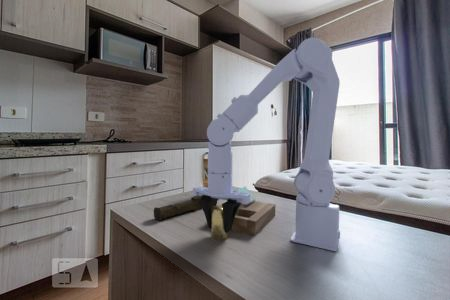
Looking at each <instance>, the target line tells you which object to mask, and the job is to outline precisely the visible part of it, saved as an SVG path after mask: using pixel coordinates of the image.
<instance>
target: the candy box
mask: <svg viewBox="0 0 450 300" xmlns="http://www.w3.org/2000/svg"><path fill="white" fill-rule="evenodd" d="M202 187H208V157H204V158H202Z"/></svg>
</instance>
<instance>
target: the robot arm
mask: <svg viewBox="0 0 450 300" xmlns="http://www.w3.org/2000/svg"><path fill="white" fill-rule="evenodd" d="M293 79H294V80H295V81H298V82H299V83H301V84H304V86H306V87H307V88H309V89H310V91H312V99H311V105H310V113H309V118H308V119H309V120H308V126H307V128H308V129H307V136H306V143H305V151H304V157H303V159H302V161H301V162H300V164H299V170H298V173H296V175H295V177H294V179H293V185H294V188H295V190H296V191H297V192H298V193H297V195H296V197H295V228H294V229H295V231H294V232H293V234H292V236H291V237H290V242H293V243H298V244H301V245H306V246H310V247H316V248H320V249H323V250H329V251H332V252H337V251H338V244H339V240H340V238H341V230H340V205H339V204H335V203H331V201H333V199H334V197H335V194H336V186H335V184H334V177H333V175H334V171H333V169H332V167H331V164H330V153H331V146H332V139H333V133H334V126H335V120H336V119H335V118H336V112H337V106H338V105H337V104H338V98H339V93H340V91H339V90H340V78H339V75H338V72H337V70H336V66H335V64H334V61H333V49H332V48H331V47H330V46H329V45H328V44H327V43H326V42H325V41H324V40H323V39H320V38H319V37H309V38H306V39H304V40H303V41H302V42H300V44H299V46H298V47H297V48H293V49H292V50H291V51H290V52H289V53H287V54H286V56H284V57H283V58H282V59H281V60H280V61H278V62H277V64H275V65H274V67H273V68H272V69H271V70H270V71H269V73H267V75H265V76H264V77H263V79H262V80H261V81H260V82H259V83H258V84H257V85H256V86H255V87H254V88H253V89H252V91H251V92H250V93H248V94H240V95H238V97H236V96H234V97H232V99H231V103H230V105H229V106H228V107H227V108H226V109H224V111H223V112H222V113H218V114H217V116H216V117H217V118H216V119H212V120H211V122H210V124H209V125H208V127H207V129H206V137H207V139H208V141H209V142H208V145H207V148H208V152H207V158H208V187H203V186H195V187H192V197H193V196H202V198H201V199H200V200H199V204H200V206H201V208H202V209H201V210H202V211H203V214H204V218H205V220H206V223H207V228H208V229H210V230H211V208H212V207H213V206H218V205H217V204H218V200H223V201H225V202H223V203H221V204H222V208H223V212H224V229H225V233H228V234H229V233H230V232H231V231H233V230H232V225H233V221H234V218H235V215H236V213H237V210H238V208H239V207H240V205H241V203H242V204H248V203H250V194H251V193H250V194H248V193H243V192H239V191H236V190H235V189H233V151H232V142H231V141H232V140H233V137H234V133H240V131H242V129H243V128H244V127H246V125H248V123H249V122H251V120H252V119H253V118H254V117H256V115H257V114H258V112H259V105H260V103H261V102H263V100H265V99H266V98H267V97H268V95H269V94H271V93H272V92H273V91H274V90H275V89H276V88H277V87H278V86H280V84H281V83H284V82H290V81H292V80H293Z"/></svg>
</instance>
